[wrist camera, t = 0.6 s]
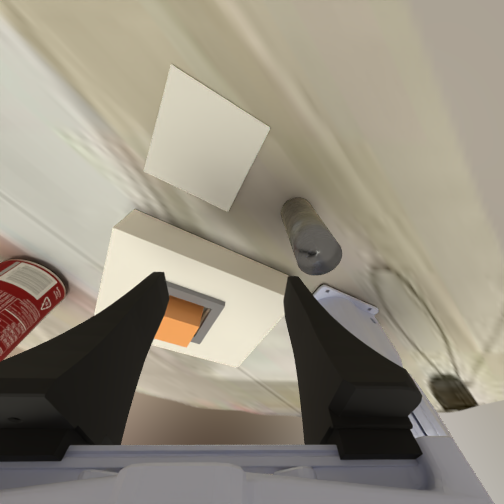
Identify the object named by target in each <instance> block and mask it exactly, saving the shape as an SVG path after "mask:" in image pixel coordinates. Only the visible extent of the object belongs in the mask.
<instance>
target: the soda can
mask: <svg viewBox="0 0 504 504" xmlns="http://www.w3.org/2000/svg"><path fill="white" fill-rule="evenodd" d="M65 295H66V289H65V286H64V284H63V282H62V281H61V280H60V278H59V277H58V276H57V275H55V274H54V273H53V272H52V271H50V270H49V269H47V268H45V267H44V266H42V265H39V264H37V263H34V262H31V261H27V260H21V259H11V260H6V261H4V262H2V263H0V361H2V360H3V359H4V358H5V357H6V356H7V355H8V354H9V353H10V352H11V351H12V350H13V349H14V348H15V347H16V346H17V345H18V344H19V343H20V342H21V341H22V340H23V339H24V338H25V337H26V336H27V335H28V334H29V333H30V332H31V331H32V330H33V329H34V328H35V327H36V326H37V325H38V324H39V323H40V322H41V321H42V320H43V319H44V318H45V317H46V316H47V315H48V314H49V313H50V312H51V311H52V310H53V309H54V308H55V307H56V306H57V305H58V304H59V303H60V302H61V301H62V300H63V299H64V297H65Z"/></svg>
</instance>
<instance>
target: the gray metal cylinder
mask: <svg viewBox="0 0 504 504" xmlns="http://www.w3.org/2000/svg"><path fill="white" fill-rule="evenodd" d="M281 217H282V220H283V223H284V226H285V229H286V231H287V234H288V237H289V240H290V243H291V246H292V249H293V252H294V255H295V257H296V260H297V263H298V266H299V268H300V269H301V270H302V271H303V272H305V273H307V274H309V275H322V274H325V273H328V272H330V271H331V270H333V269H334V268H335V267H336V266H337V265H338V264H339V262H340V261H341V258H342V249H341V247H340V245H339V244H338V242H337V241H336V239H335V238H334V237H333V235H332V234H331V233H330V231H329V230H328V228H327V227H326V226H325V224H324V223H323V221H322V220H321V219H320V217H319V216H318V214H317V213H316V212H315V210H314V209H313V207H312V206H311V205H310V203H309V202H308V201H307V200H305V199H303V198H293V199H290V200H289V201H287V202H286V203H285V204H284V206H283V207H282V210H281Z"/></svg>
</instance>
